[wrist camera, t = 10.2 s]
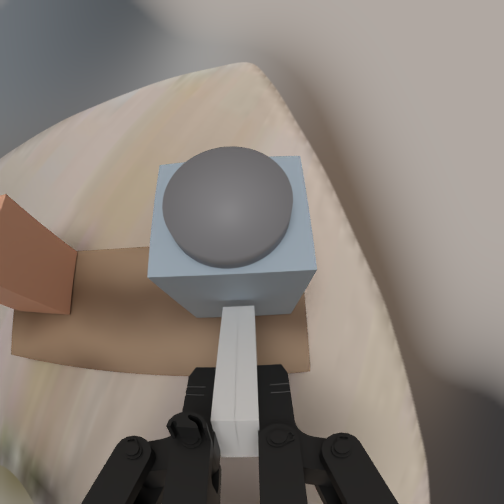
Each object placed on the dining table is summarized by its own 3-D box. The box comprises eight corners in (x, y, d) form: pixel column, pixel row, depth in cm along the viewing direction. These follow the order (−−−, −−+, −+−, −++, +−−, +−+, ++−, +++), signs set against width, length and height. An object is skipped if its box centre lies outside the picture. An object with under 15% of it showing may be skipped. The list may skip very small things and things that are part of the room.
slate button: (290, 313, 19) (322, 259, 9) (196, 317, 19) (137, 268, 9) (284, 241, 20) (302, 140, 11) (197, 245, 20) (153, 150, 11)
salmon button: (69, 314, 19) (-29, 272, 9) (19, 310, 19) (-69, 272, 9) (77, 252, 21) (-4, 185, 11) (27, 255, 21) (-49, 201, 11)
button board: (305, 370, 19) (310, 371, 17) (25, 356, 19) (11, 354, 18) (295, 249, 23) (298, 238, 21) (34, 262, 23) (22, 255, 21)
